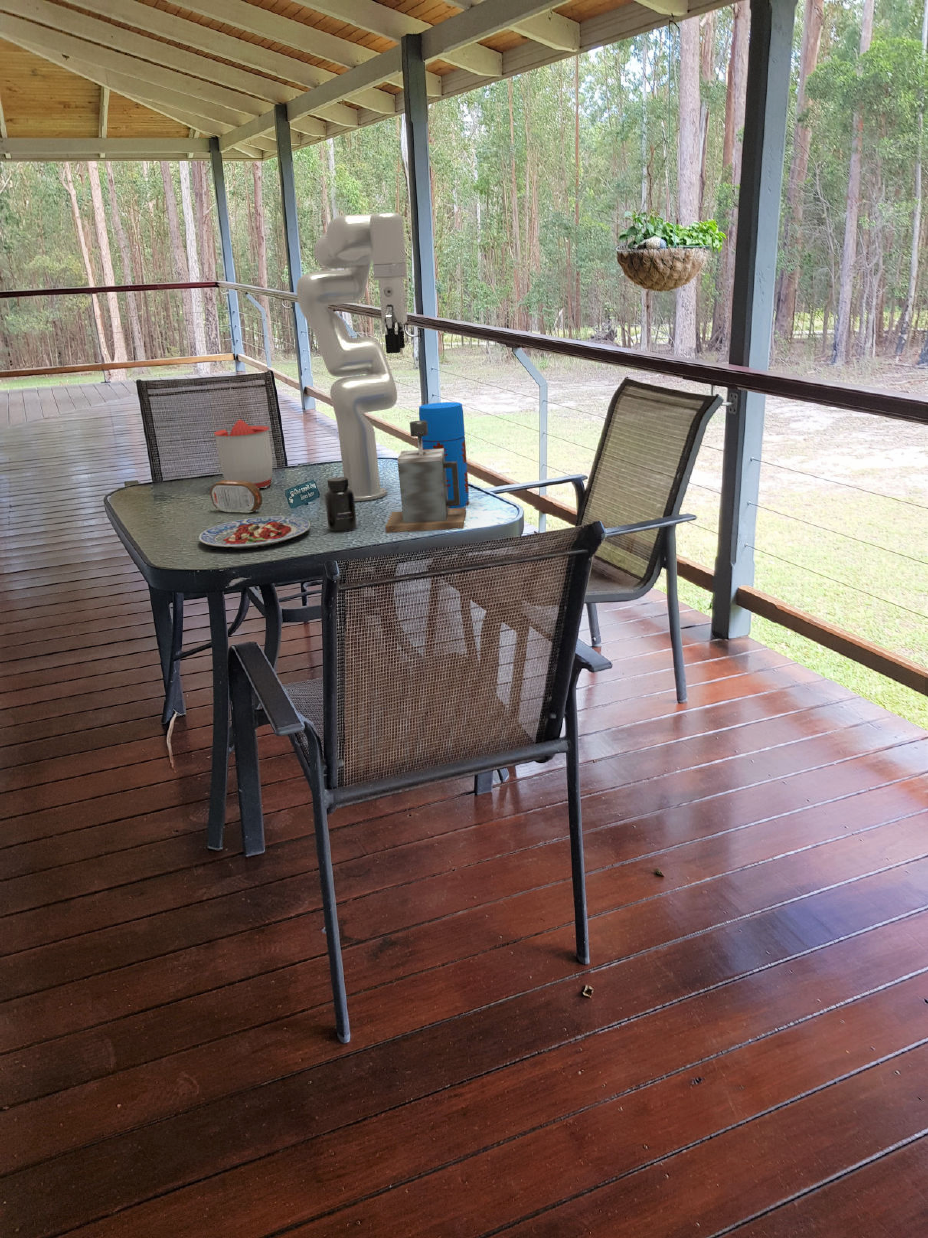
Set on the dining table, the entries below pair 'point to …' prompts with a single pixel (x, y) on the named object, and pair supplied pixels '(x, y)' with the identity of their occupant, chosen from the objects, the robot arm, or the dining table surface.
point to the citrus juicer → (245, 454)
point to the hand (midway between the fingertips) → (395, 350)
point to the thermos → (448, 442)
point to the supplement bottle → (340, 505)
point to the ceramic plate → (256, 531)
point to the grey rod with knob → (419, 432)
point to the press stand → (426, 493)
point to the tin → (236, 495)
